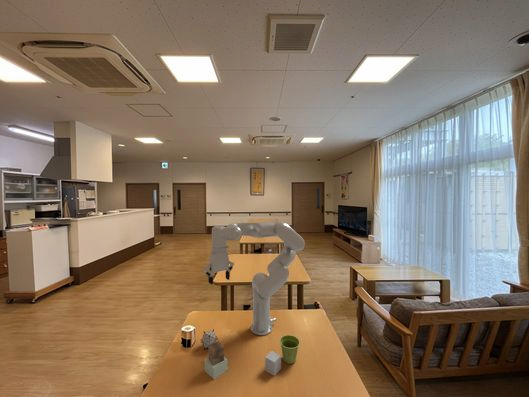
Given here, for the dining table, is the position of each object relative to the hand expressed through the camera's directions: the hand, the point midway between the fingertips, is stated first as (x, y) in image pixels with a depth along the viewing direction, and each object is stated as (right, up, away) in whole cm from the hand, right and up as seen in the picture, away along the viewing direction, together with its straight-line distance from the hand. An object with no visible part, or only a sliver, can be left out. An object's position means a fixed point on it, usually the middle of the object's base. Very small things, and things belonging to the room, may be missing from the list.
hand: (219, 281), depth 123 cm
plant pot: (+36, -31, -15) cm, 50 cm away
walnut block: (+3, -26, -22) cm, 35 cm away
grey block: (+28, -31, -22) cm, 47 cm away
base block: (+3, -31, -22) cm, 38 cm away
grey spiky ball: (-4, -31, -7) cm, 32 cm away
